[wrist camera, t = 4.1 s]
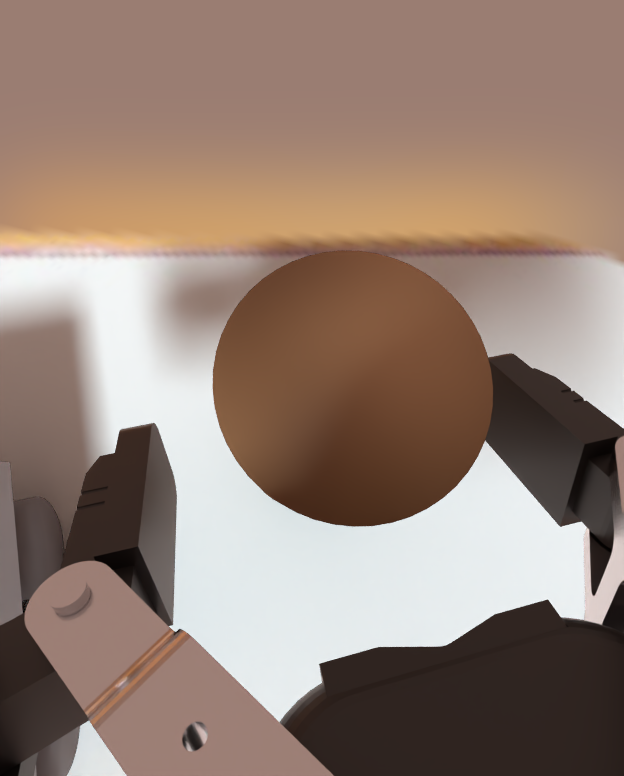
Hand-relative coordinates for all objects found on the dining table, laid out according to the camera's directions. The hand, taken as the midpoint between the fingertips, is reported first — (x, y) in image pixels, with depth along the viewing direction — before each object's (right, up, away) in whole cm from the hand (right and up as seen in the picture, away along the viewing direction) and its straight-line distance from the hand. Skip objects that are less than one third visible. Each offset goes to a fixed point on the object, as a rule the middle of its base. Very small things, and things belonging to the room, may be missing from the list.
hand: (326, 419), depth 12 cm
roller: (0, -1, +6) cm, 6 cm away
